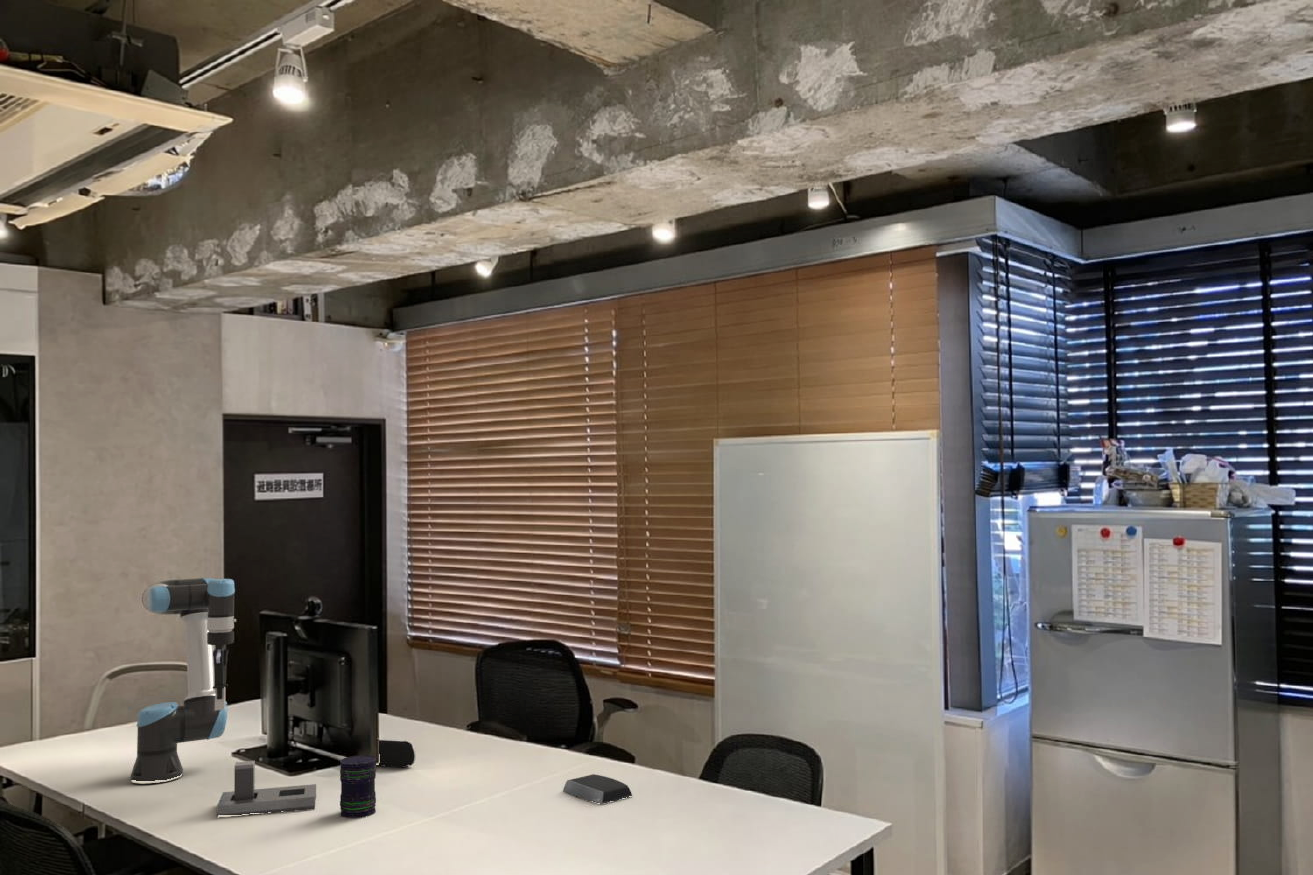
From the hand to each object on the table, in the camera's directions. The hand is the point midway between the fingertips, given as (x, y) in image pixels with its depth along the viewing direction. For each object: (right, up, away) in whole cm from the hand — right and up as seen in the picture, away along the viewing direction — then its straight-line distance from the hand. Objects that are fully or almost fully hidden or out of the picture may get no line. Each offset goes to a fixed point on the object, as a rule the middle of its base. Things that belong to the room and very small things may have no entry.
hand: (220, 709), depth 314 cm
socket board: (+19, -25, -12) cm, 34 cm away
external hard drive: (+114, -25, -4) cm, 117 cm away
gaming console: (+43, -28, +32) cm, 60 cm away
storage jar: (+47, -25, -19) cm, 56 cm away
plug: (+13, -24, -13) cm, 30 cm away
